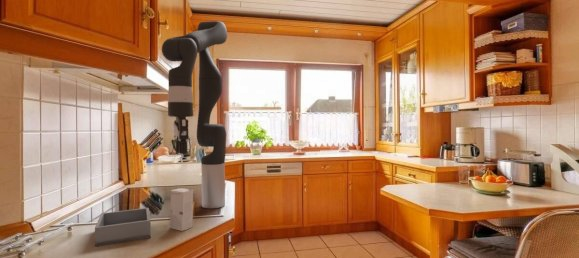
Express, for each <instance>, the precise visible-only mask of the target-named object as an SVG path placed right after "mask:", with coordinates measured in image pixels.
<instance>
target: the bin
mask: <svg viewBox="0 0 579 258" xmlns="http://www.w3.org/2000/svg"><path fill="white" fill-rule="evenodd" d="M151 224H152V223H151V214H150V208H149V207H142V208H134V209H126V210H117V211H111V212H110V211H108V212H101V213H100V215H99V217H98V220H97V222H96V224H95V226H94V247H100V246H106V245H112V244H120V243H125V242H131V241H137V240H138V241H139V240H143V239H150V238H152V237H151V233H152V231H151V230H152V229H151Z"/></svg>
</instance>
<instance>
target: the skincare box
mask: <svg viewBox="0 0 579 258" xmlns="http://www.w3.org/2000/svg"><path fill="white" fill-rule="evenodd" d="M169 209H170V213H169V214H170V215H169V228H170V229H173V230H177V231H181V232H183V231H186V230H189V229H191V228H193V214H194V210H193V209H194V190H193V189H189V188H184V187H183V188H182V187H180V188H179V187H178V188H176V189H174V188H173V189H172V190H170V208H169Z"/></svg>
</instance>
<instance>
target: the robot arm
mask: <svg viewBox="0 0 579 258" xmlns="http://www.w3.org/2000/svg"><path fill="white" fill-rule="evenodd" d="M227 39H228V31H227V27H226V25H225V23H224V22H223V21H220V20H210V21H208V20H207V21H200V22H199V23H198V26H197V30H196V31H191V32H188V33H186V34H184V35H180V36H179V35H178V36H174V37H170V38H166V39H165V40H164V41H163V43H162V45H161V53H162V56H163V57H164V59H166V60H167V61H170V62H180V64H179V65H178V66H176V67H173V68H171V69H169V70H168V91H167V115H168V117H171V118H173V117H174V118H175V120H174V122H173V134H174V136H173V137H174V141H175V151H176V152H178V153H179V154H181V155H182V154H183V155H184V154H187V153H188V140H189V139H190V136H189V119H187V118H191V117H193V116H194V94H193V93H194V92H193V72H194V68H195V63H196V61H197V57H198V58H199V59H198V60H199V61H198V62H199V64H198V67H199V68H198V69H199V71H198V112H197V113H198V114H197V125H196V142H197V143H198V145H199V146H200V147H203V148H204V147H205V148H206V147H209V148H210V147H212V151H211V152H210V153H209V154H206V155H203V156H202V157H201V160H200V161H201V166H200V167H201V168H200V169H201V207H202V208H204V209H218V208H219V209H220V208H221V207H225V206H226V179H225V178H226V176H225V175H226V167H225V166H226V152H227V151H226V150H227V146H226V145H227V131H226V127H225V126H224V125H223V124H221V123H211V124H210V119H211V114H212V111H213V109H214V108H215V106H216V105H217V103H218V101H219V100H220V97H221V95H222V92H223V76H222V74H221V71H220V70H219V68H218V67H217V65H216V64H215V62H214V60H213V58H212V56H211V53H210V47H212V46H215V45H216V46H217V45H222V44H225V43H226V41H227Z"/></svg>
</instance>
